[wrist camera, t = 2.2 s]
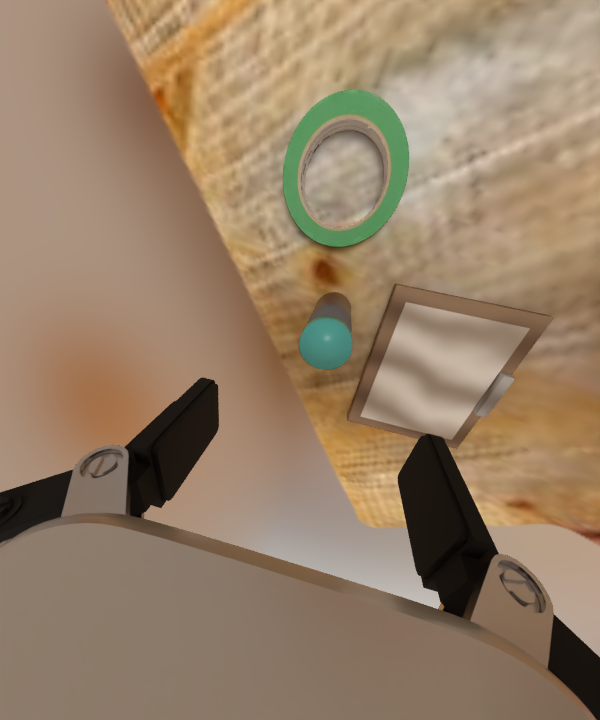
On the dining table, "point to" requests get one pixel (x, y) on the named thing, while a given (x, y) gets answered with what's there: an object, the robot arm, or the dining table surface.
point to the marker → (328, 333)
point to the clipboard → (441, 363)
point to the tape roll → (328, 119)
